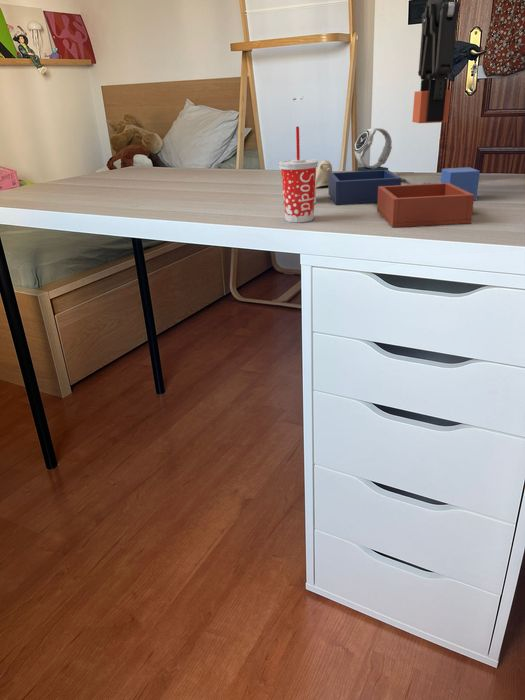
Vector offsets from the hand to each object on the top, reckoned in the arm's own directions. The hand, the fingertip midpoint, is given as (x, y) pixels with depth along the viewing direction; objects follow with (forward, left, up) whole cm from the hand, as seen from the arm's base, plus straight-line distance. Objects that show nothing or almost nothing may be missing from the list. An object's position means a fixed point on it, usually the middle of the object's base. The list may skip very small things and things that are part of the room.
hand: (430, 120), depth 94 cm
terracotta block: (0, 0, 0) cm, 0 cm away
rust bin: (+6, +19, -13) cm, 23 cm away
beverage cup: (+25, +16, -13) cm, 32 cm away
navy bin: (+12, 0, -13) cm, 17 cm away
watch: (+7, -17, -13) cm, 23 cm away
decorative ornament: (+18, -16, -13) cm, 27 cm away
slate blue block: (-4, +6, -13) cm, 15 cm away
